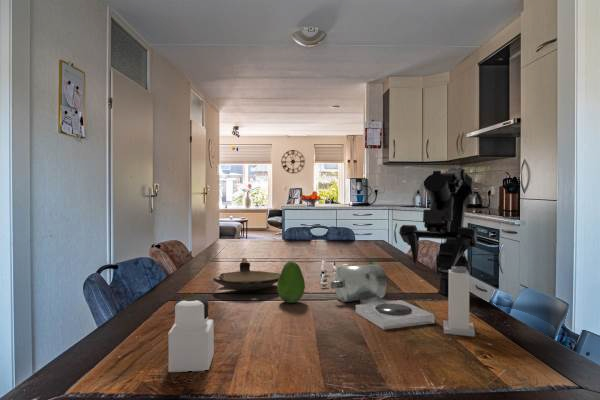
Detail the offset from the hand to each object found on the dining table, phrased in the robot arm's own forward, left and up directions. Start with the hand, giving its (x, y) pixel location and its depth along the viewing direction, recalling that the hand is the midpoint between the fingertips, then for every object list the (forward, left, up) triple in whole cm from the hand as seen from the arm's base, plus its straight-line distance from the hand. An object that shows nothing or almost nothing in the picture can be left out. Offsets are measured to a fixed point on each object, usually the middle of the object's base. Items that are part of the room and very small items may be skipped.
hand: (433, 265), depth 101 cm
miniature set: (+3, -52, -14) cm, 54 cm away
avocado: (+30, -25, -13) cm, 41 cm away
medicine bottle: (+60, +8, -13) cm, 62 cm away
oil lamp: (+37, -47, -14) cm, 61 cm away
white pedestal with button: (+1, +10, -13) cm, 17 cm away
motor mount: (+11, -11, -13) cm, 20 cm away
